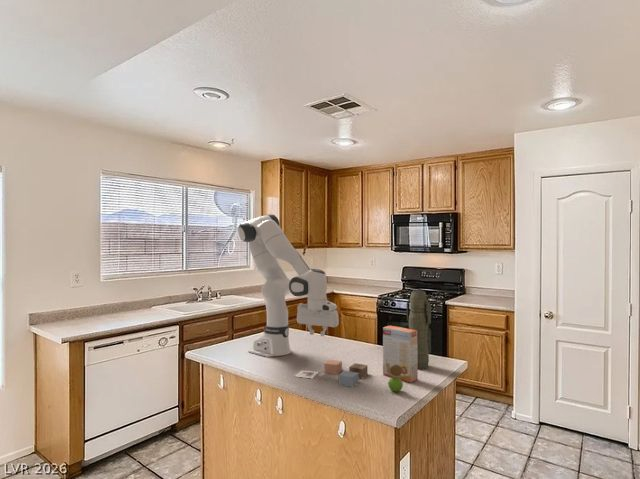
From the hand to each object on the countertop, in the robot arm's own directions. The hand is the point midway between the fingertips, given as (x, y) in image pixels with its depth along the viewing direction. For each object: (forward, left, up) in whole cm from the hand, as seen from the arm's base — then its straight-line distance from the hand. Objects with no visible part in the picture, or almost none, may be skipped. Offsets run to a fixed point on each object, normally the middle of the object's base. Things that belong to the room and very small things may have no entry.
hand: (317, 334), depth 177 cm
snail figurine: (+39, -11, -15) cm, 43 cm away
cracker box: (+37, +5, -15) cm, 40 cm away
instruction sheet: (0, -10, -15) cm, 18 cm away
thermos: (+41, +23, -15) cm, 49 cm away
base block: (+20, 0, -15) cm, 25 cm away
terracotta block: (+8, 0, -15) cm, 17 cm away
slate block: (+20, -11, -15) cm, 27 cm away
